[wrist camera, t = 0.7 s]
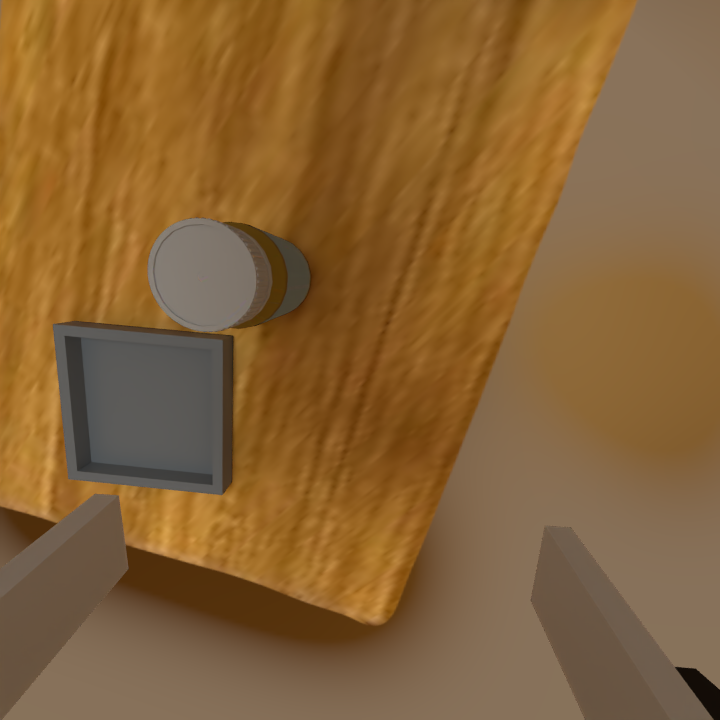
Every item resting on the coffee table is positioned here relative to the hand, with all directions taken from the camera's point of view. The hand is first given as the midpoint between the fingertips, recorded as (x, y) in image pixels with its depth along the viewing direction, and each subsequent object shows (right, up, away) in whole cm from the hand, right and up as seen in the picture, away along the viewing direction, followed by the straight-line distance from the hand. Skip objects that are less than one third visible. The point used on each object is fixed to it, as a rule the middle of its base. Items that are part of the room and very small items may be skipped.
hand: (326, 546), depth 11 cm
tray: (-20, +1, +27) cm, 33 cm away
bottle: (-7, +14, +24) cm, 28 cm away
